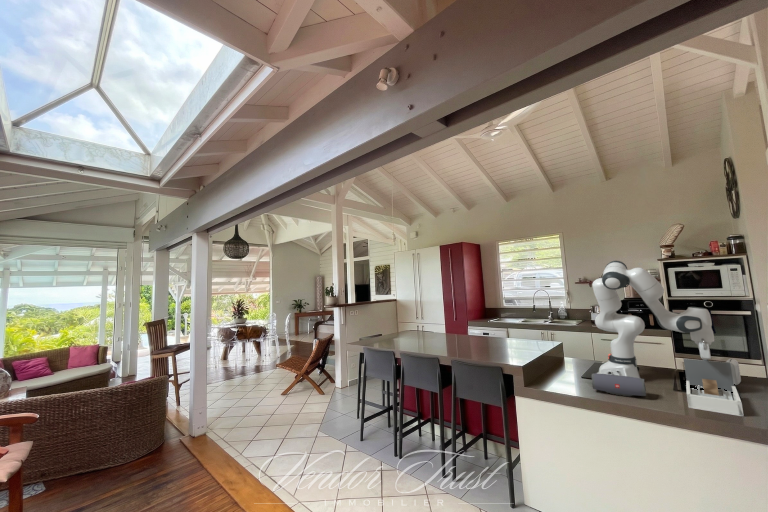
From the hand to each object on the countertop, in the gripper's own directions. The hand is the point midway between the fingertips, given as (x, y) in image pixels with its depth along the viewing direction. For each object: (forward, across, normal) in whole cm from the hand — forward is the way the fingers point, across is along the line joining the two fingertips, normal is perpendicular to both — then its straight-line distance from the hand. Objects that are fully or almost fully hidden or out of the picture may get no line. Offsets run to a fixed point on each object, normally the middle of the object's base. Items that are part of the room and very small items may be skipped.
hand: (706, 363), depth 165 cm
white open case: (+13, -12, 0) cm, 18 cm away
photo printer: (+13, +16, -10) cm, 23 cm away
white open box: (+13, -22, 0) cm, 25 cm away
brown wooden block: (+12, -12, 0) cm, 17 cm away
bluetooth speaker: (+13, -29, +36) cm, 48 cm away
